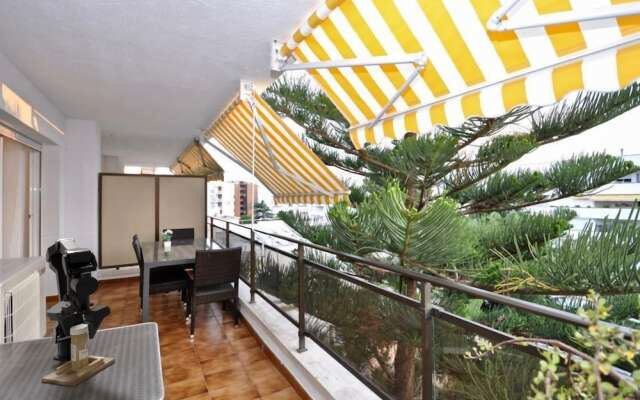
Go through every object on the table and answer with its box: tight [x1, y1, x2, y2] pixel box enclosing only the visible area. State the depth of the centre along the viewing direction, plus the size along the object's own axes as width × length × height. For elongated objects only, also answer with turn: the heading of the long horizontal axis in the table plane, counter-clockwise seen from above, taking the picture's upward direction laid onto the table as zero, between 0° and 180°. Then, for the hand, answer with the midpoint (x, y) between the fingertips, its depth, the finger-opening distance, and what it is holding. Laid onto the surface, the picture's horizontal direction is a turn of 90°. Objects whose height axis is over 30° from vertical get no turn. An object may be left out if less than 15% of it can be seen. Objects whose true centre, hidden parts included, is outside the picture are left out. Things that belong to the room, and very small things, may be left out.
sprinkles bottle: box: [70, 324, 89, 371], centre depth 99 cm, size 5×5×13 cm
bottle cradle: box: [41, 354, 115, 387], centre depth 100 cm, size 12×14×2 cm
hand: (79, 337), depth 99 cm, fingers open, 9 cm apart
